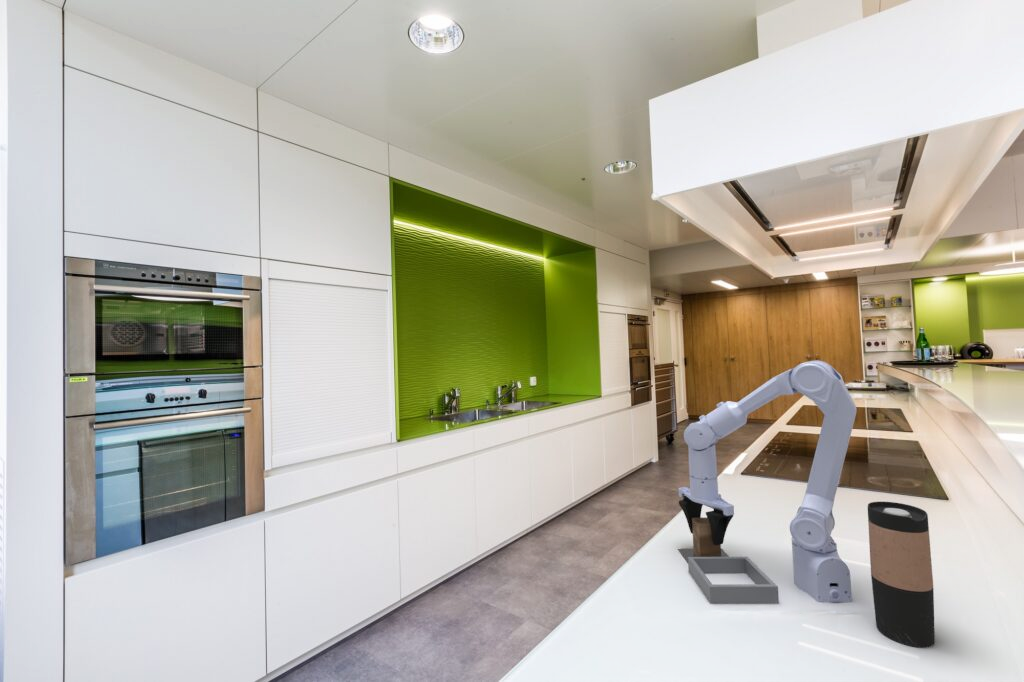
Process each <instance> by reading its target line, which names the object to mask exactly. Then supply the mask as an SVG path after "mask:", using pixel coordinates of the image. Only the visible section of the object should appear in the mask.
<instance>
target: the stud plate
mask: <svg viewBox="0 0 1024 682" xmlns="http://www.w3.org/2000/svg"><path fill="white" fill-rule="evenodd" d="M677 551H678V552H679V554H680V555H681V556H682V557H683V559H684V561H685V562H686V564H688V557H696V556H695V555H694V548H677ZM721 557H730V556H729V554H727V552H726V551H724V550H723V548H722V547H721Z"/></svg>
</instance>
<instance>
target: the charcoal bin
mask: <svg viewBox="0 0 1024 682" xmlns="http://www.w3.org/2000/svg"><path fill="white" fill-rule="evenodd" d="M687 565H688V566H687V567H688V573H689V575H690V576H691V578H692V579H693V580H694V582H695V583H696V585H697V586H698V588H699V589H700V591H701V593H703V595H704V596H705V598H706V599H707V601H708V603H709V604H710V605H771V604H772V605H777V604H778V605H779V604H780V601H779V600H780V598H779V586H778V585H777V584H776V583H775V582H774V581H773V580H772V579H771V578H770V577H769V576H768V575H766V573H765V572H764V571H763V570H762V569H761V568H759V566H758V565H757V564H755V562H754V561H753V560H751V558H749V557H748V556H729V557H688V563H687ZM707 574H710V575H711V574H712V575H713V574H716V575H717V574H718V575H720V574H721V575H722V574H724V575H725V574H745V575H746V576H748V578H749V579H751V581H752V582H753V583H754V584H749V583H748V584H745V583H744V584H739V583H738V584H736V583H735V584H732V583H731V584H729V583H728V584H726V583H725V584H717V583H716V584H712V582H711V580H710V578H708V577H707Z"/></svg>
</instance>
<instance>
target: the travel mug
mask: <svg viewBox="0 0 1024 682" xmlns="http://www.w3.org/2000/svg"><path fill="white" fill-rule="evenodd" d="M867 519H868V520H867V523H868V540H869V541H868V543H869V560H870V562H869V563H870V564H869V565H870V576H871V586H872V597H873V605H874V606H873V608H874V616H875V625H876V628H877V630H878V631H879V632H880V633H881V634H882V635H883V636H885V638H886V637H887V638H888V639H890V640H892V641H894V642H897V643H899V644H902V645H905V646H908V647H913V648H922V649H925V648H930V647H933V646H934V645H935V639H936V637H935V636H936V635H935V633H936V632H935V629H936V628H935V600H934V599H935V597H934V596H935V595H934V592H935V591H934V580H933V579H934V577H933V566H932V556H931V554H932V551H931V542H930V529H929V528H930V527H929V516H928V513H927V511H925V510H924V509H923V508H921V507H917V506H914V505H909V504H906V503H905V504H904V503H902V502H901V503H900V502H894V501H893V502H892V501H871V502H869V503H867Z"/></svg>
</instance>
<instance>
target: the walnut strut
mask: <svg viewBox="0 0 1024 682" xmlns="http://www.w3.org/2000/svg"><path fill="white" fill-rule="evenodd" d="M692 528H693V534H692V545H693V548H692V549H694V555H695V556H696V557H721V548H722V547H721V545H722V544H720V545H714V544H713V541H712V534H711V527H710V523H709V520H708V518H707V517H701V518H692Z"/></svg>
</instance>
